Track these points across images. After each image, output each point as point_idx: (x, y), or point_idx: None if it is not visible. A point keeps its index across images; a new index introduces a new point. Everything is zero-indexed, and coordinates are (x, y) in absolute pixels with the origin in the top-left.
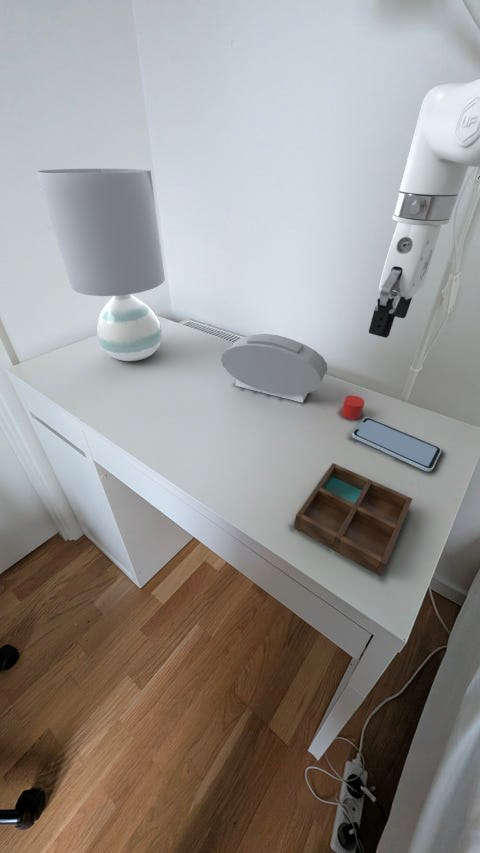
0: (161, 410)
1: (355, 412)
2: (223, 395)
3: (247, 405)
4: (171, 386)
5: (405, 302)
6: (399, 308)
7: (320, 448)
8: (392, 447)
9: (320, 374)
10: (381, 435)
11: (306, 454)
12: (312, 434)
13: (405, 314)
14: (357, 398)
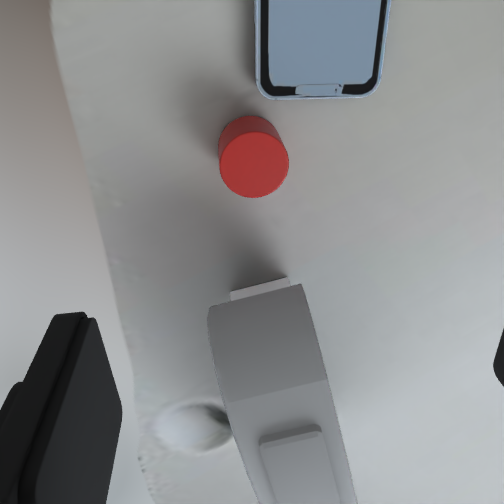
0: (482, 440)
1: (277, 135)
2: (373, 406)
3: (379, 355)
4: (401, 476)
5: (66, 449)
6: (92, 413)
7: (455, 139)
8: None
9: (298, 316)
10: (328, 5)
11: (495, 156)
12: (408, 186)
13: (76, 331)
14: (235, 164)
